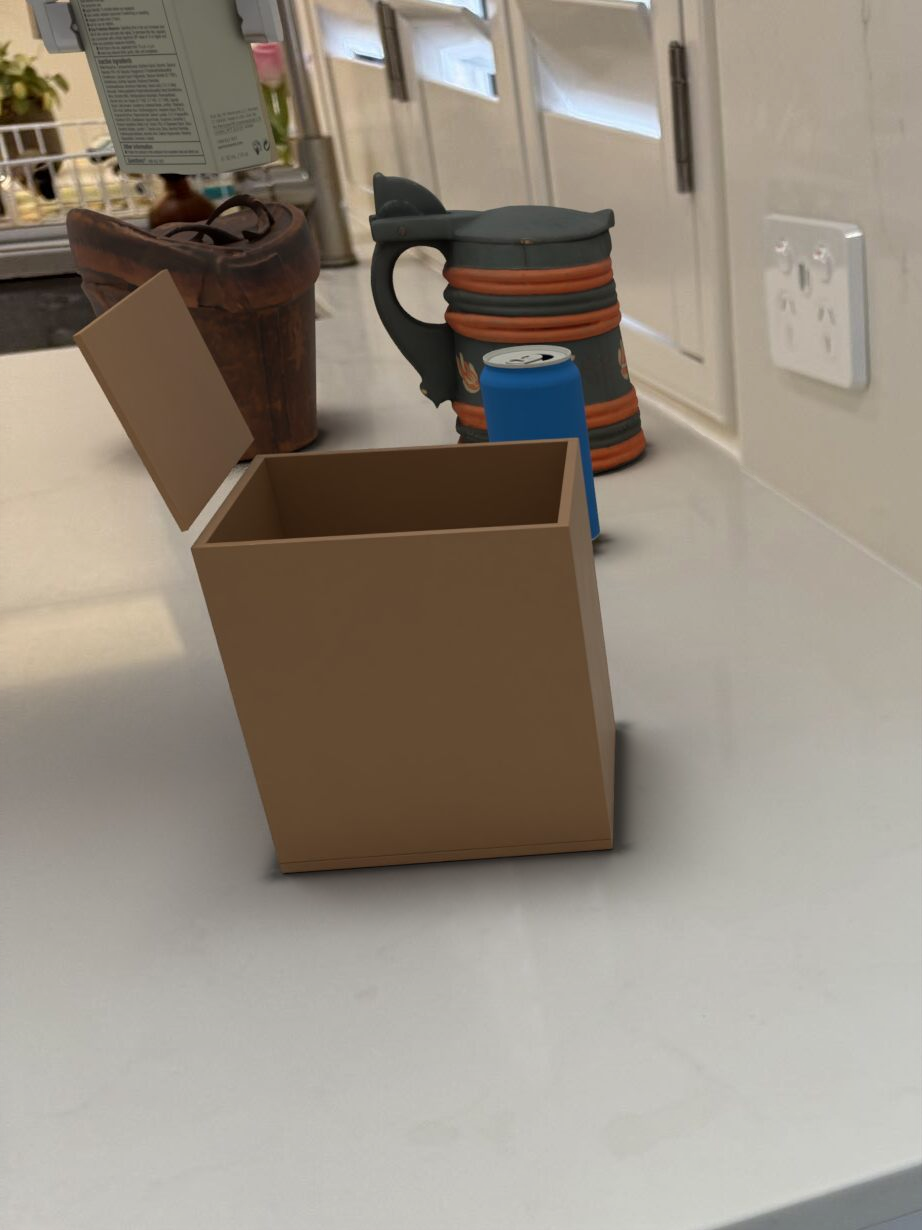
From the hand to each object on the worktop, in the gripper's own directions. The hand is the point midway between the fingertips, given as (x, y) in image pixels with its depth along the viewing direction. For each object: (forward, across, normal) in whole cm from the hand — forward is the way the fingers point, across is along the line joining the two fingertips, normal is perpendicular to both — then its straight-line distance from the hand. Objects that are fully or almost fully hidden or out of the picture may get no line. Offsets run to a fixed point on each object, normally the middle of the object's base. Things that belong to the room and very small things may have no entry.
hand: (168, 47), depth 70 cm
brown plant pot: (+30, -15, +57) cm, 66 cm away
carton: (+30, +8, -15) cm, 34 cm away
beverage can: (+30, +12, +24) cm, 40 cm away
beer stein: (+30, +9, +47) cm, 57 cm away
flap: (+11, 0, -15) cm, 18 cm away
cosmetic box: (+5, 0, 0) cm, 5 cm away
